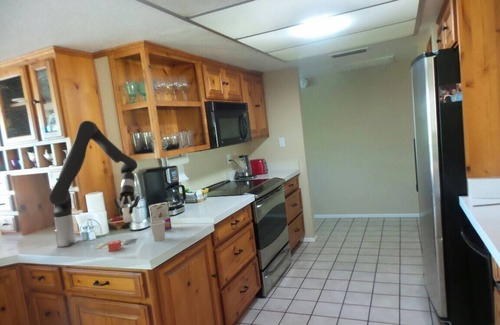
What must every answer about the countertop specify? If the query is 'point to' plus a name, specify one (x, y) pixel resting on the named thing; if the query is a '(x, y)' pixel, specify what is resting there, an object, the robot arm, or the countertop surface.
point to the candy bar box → (160, 213)
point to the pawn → (126, 215)
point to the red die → (114, 245)
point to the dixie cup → (158, 230)
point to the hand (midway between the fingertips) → (126, 213)
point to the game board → (127, 242)
